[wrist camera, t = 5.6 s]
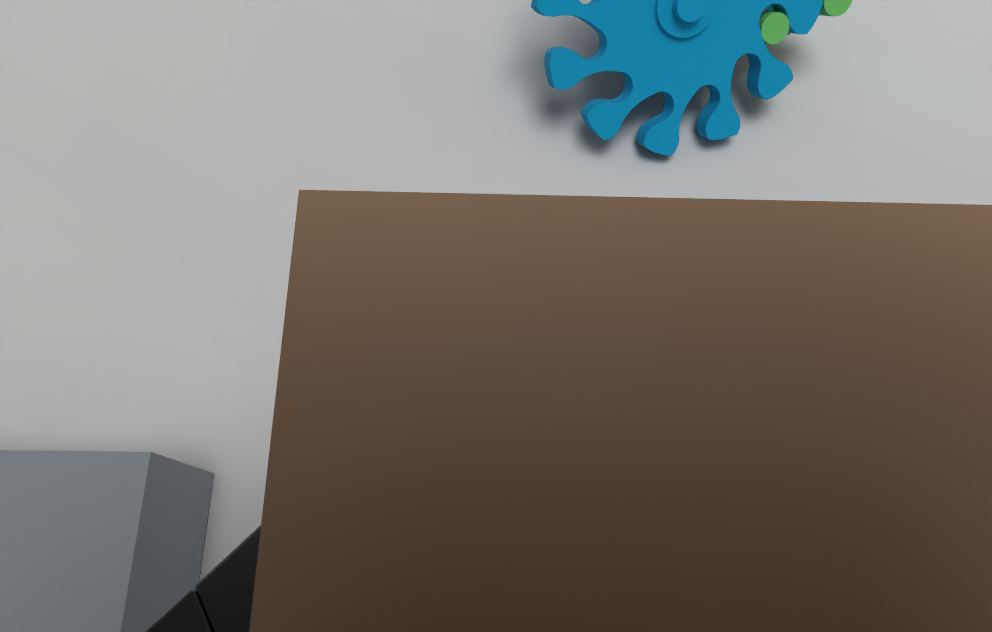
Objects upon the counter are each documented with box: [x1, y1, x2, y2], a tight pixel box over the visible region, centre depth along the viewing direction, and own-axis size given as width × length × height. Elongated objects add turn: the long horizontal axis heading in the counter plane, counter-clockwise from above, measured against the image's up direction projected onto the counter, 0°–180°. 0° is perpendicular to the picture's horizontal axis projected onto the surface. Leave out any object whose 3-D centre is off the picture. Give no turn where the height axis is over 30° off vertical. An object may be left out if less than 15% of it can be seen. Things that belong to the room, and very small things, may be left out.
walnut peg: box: [249, 190, 992, 632], centre depth 9 cm, size 4×4×12 cm
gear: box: [531, 0, 852, 156], centre depth 25 cm, size 11×6×10 cm
